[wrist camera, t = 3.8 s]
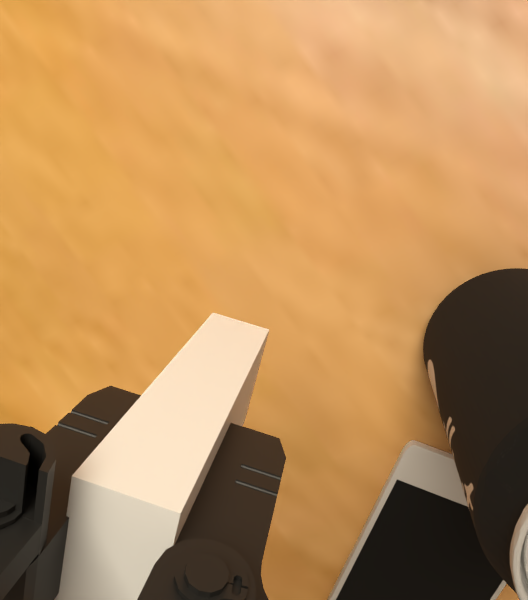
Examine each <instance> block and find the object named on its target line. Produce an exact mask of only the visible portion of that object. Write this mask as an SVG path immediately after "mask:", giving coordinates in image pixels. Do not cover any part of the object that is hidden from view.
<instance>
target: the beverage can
mask: <svg viewBox="0 0 528 600" xmlns="http://www.w3.org/2000/svg"><path fill="white" fill-rule="evenodd" d="M423 352H424V361H425V365H426V369H427V372H428V375H429V379H430V382H431V385H432V389H433V392H434V395H435V399H436V402H437V405H438V408H439V412H440V415H441V418H442V422H443V425H444V428H445V431H446V435H447V438H448V441H449V445H450V448H451V451H452V455H453V458H454V461H455V464H456V468H457V471H458V474H459V478H460V481H461V484H462V488H463V491H464V494H465V497H466V501H467V504H468V507H469V511H470V514H471V517H472V520H473V524H474V527H475V530H476V534H477V537H478V540H479V543H480V545H481V547H482V550H483V552H484V554H485V556H486V557H487V559H488V560H489V562H490V564H491V565H492V566H493V568H494V569H495V570H496V572H497V573H498V574H499V575H500V576H501V578H502V579H503V580H504V581H505V582H506V583H507V584H508V585H509V586H510V587H511V588H512V589H513V590H514V591H515V592H516V593H517V595H518V597H519V599H520V600H528V269H503V270H497V271H493V272H489V273H485V274H482V275H479V276H477V277H475V278H473V279H470V280H468V281H467V282H465V283H463V284H462V285H460V286H459V287H457V288H456V289H455V290H453V291H452V292H451V293H450V294H449V295H448V296H446V298H445V299H444V300H443V301H442V302H441V303H440V304H439V306H438V307H437V309H436V310H435V312H434V313H433V315H432V317H431V319H430V321H429V323H428V326H427V329H426V333H425V337H424V346H423Z"/></svg>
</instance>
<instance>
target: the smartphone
mask: <svg viewBox="0 0 528 600" xmlns="http://www.w3.org/2000/svg"><path fill="white" fill-rule="evenodd" d="M506 584H507V583H506V582H505V581H504V580H503V579H502V578H501V576H500V575H499V574H498V573H497V572H496V570H495V569H494V568H493V566H492V565H491V564H490V562H489V560H488V559H487V557H486V556H485V554H484V552H483V550H482V547H481V545H480V543H479V540H478V537H477V534H476V530H475V527H474V524H473V520H472V517H471V514H470V511H469V507H468V504H467V501H466V497H465V494H464V491H463V488H462V484H461V481H460V478H459V474H458V471H457V468H456V464H455V461H454V458H453V455H452V454H450V453H447V452H445V451H442V450H439V449H437V448H434V447H431V446H429V445H426V444H423V443H421V442H418V441H415V440H411V441H409V442H408V443H407V444H406V445H405V446H404V448H403V449H402V451H401V453H400V455H399V457H398V459H397V461H396V463H395V465H394V467H393V469H392V471H391V473H390V475H389V477H388V479H387V481H386V483H385V485H384V487H383V489H382V491H381V493H380V495H379V497H378V499H377V501H376V503H375V505H374V507H373V509H372V511H371V513H370V515H369V517H368V519H367V521H366V523H365V525H364V527H363V529H362V531H361V533H360V535H359V537H358V539H357V541H356V543H355V545H354V547H353V549H352V551H351V553H350V555H349V557H348V559H347V561H346V563H345V565H344V567H343V569H342V571H341V573H340V575H339V577H338V579H337V581H336V583H335V585H334V587H333V589H332V591H331V593H330V595H329V597H328V599H327V600H496V599H497V597H498V596H499V594H500V593H501V591H502V590H503V588H504V587H505V585H506Z"/></svg>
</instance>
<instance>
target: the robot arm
mask: <svg viewBox="0 0 528 600" xmlns="http://www.w3.org/2000/svg"><path fill="white" fill-rule="evenodd" d="M268 333H269V329H266V328H262V327H259V326H256V325H252V324H249V323H246V322H242V321H239V320H236V319H232V318H229V317H226V316H223V315H219V314H216V313H212V314H211V315H210V316H209V318H208V319H207V320H206V321H205V322H204V323H203V325H202V326H201V327H200V328H199V329H198V330H197V331H196V333H195V334H194V335H193V336H192V337H191V338H190V340H189V341H188V342H187V343H186V344H185V345H184V347H183V348H182V349H181V350H180V351H179V352H178V353H177V355H176V356H175V357H174V358H173V359H172V360H171V362H170V363H169V364H168V365H167V366H166V367H165V369H164V370H163V371H162V372H161V373H160V374H159V376H158V377H157V378H156V379H155V380H154V381H153V382H152V384H151V385H150V386H149V387H148V388H147V389H146V391H145V392H144V393H143V394H142V395H138V394H134V393H131V392H128V391H125V390H122V389H119V388H116V387H113V386H109V387H106V388H104V389H101V390H99V391H97V392H94V393H92V394H89V395H87V396H86V397H85V398H84V399H83V400H82V401H81V402H80V403H79V404H78V405H77V406H75V407H74V408H73V409H72V411H71V413H68V414H67V415H66V416H65V417H64V418H63V419H61V420H60V421H59V423H58V425H57V426H56V425H55V426H54V427H53V428H52V429H51V430H50V431H49V432H47V433H46V434H44V433H42V432H40V431H38V430H36V429H35V428H33V427H28V426H23V425H18V424H0V600H54V599H55V600H268V598H267V595H266V593H265V591H264V589H263V584H262V579H261V564H262V558H263V554H264V550H265V545H266V541H267V537H268V533H269V528H270V524H271V520H272V515H273V511H274V507H275V503H276V498H277V494H278V490H279V485H280V480H281V477H282V472H283V468H284V464H285V460H286V457H285V454H284V451H283V448H282V445H281V442H280V439H279V438H276V437H273V436H270V435H267V434H264V433H261V432H258V431H255V430H252V429H249V428H245V427H242V426H243V423H244V421H245V418H246V414H247V410H248V407H249V403H250V399H251V395H252V392H253V388H254V384H255V381H256V377H257V373H258V370H259V366H260V362H261V358H262V355H263V351H264V347H265V344H266V340H267V336H268Z"/></svg>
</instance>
